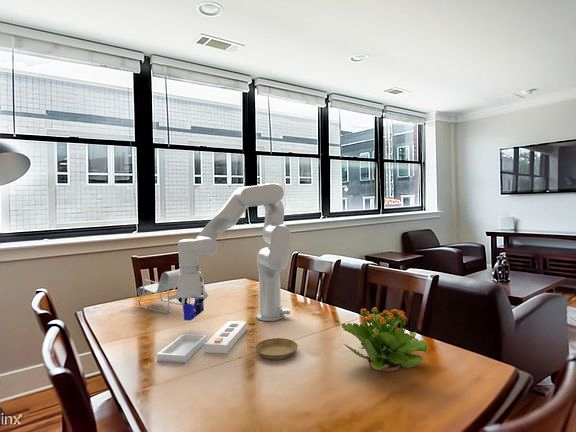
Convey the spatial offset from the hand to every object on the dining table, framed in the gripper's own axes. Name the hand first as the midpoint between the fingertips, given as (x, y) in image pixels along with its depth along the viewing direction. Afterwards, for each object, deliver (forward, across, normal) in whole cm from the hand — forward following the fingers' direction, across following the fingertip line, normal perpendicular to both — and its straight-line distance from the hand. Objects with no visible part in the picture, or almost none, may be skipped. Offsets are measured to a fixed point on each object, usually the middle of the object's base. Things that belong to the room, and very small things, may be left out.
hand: (192, 313), depth 146 cm
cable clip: (+1, 0, 0) cm, 1 cm away
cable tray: (+7, -5, +19) cm, 21 cm away
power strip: (+8, -17, +7) cm, 20 cm away
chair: (+8, +31, -31) cm, 45 cm away
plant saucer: (+9, -38, +16) cm, 42 cm away
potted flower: (+9, -73, +21) cm, 76 cm away
